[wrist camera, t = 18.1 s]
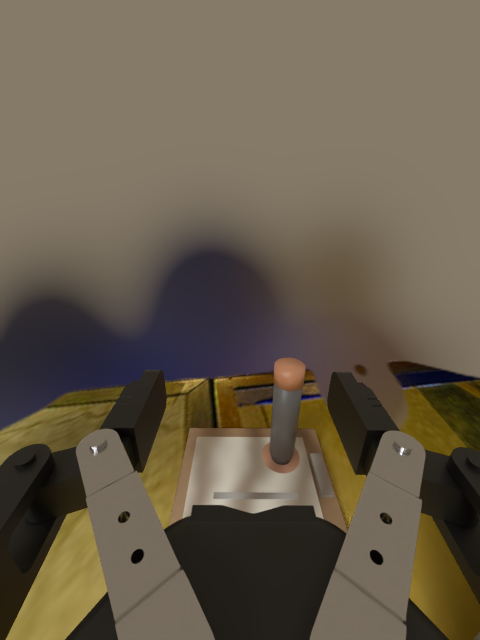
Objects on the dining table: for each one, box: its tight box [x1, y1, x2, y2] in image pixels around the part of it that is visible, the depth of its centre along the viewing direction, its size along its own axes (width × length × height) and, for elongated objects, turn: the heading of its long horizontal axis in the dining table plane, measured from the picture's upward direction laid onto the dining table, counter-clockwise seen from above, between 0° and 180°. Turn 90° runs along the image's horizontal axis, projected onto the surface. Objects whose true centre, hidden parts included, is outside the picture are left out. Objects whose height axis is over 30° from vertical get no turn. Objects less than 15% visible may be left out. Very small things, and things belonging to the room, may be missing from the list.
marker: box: [269, 358, 305, 465], centre depth 37 cm, size 4×4×16 cm
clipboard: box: [169, 428, 348, 534], centre depth 38 cm, size 21×17×2 cm
